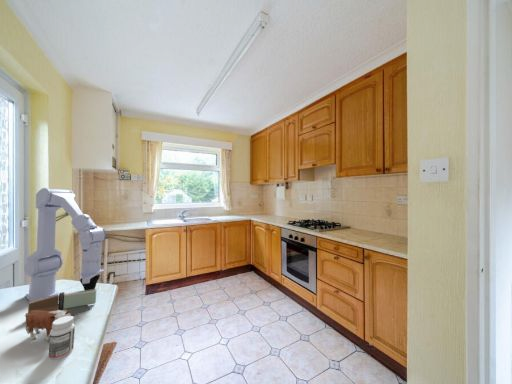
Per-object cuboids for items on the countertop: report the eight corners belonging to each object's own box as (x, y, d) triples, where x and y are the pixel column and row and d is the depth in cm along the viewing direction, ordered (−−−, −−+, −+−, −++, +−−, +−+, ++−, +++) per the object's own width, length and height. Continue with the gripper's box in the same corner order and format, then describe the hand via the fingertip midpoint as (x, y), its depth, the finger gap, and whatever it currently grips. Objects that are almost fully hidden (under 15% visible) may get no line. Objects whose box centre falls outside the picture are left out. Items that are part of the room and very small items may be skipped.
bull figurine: (56, 346, 55) (58, 315, 55) (19, 339, 57) (21, 309, 58) (73, 336, 59) (75, 307, 59) (38, 329, 62) (40, 302, 62)
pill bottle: (59, 346, 55) (61, 314, 55) (78, 345, 55) (80, 314, 55) (42, 360, 50) (44, 325, 50) (63, 359, 50) (65, 325, 51)
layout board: (25, 314, 69) (25, 313, 69) (78, 298, 81) (78, 297, 81) (35, 329, 62) (35, 327, 62) (91, 309, 73) (91, 308, 73)
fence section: (27, 319, 66) (28, 301, 66) (62, 307, 73) (63, 291, 74) (28, 320, 65) (29, 302, 66) (64, 309, 73) (65, 292, 73)
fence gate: (63, 308, 72) (64, 294, 72) (64, 306, 73) (65, 292, 74) (94, 303, 76) (95, 290, 76) (95, 302, 77) (96, 288, 78)
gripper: (100, 264, 73) (98, 302, 73) (107, 254, 86) (105, 286, 86) (75, 266, 70) (72, 306, 70) (86, 256, 83) (84, 289, 82)
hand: (89, 295), depth 77 cm, fingers closed
